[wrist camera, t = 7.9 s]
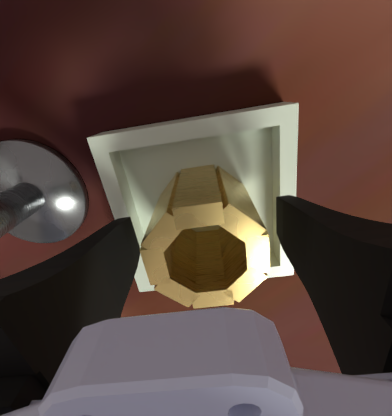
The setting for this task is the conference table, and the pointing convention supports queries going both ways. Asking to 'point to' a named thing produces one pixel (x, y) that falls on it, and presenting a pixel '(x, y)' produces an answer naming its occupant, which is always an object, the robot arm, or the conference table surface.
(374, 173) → the conference table surface
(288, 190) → the tray
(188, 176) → the collar
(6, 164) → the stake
